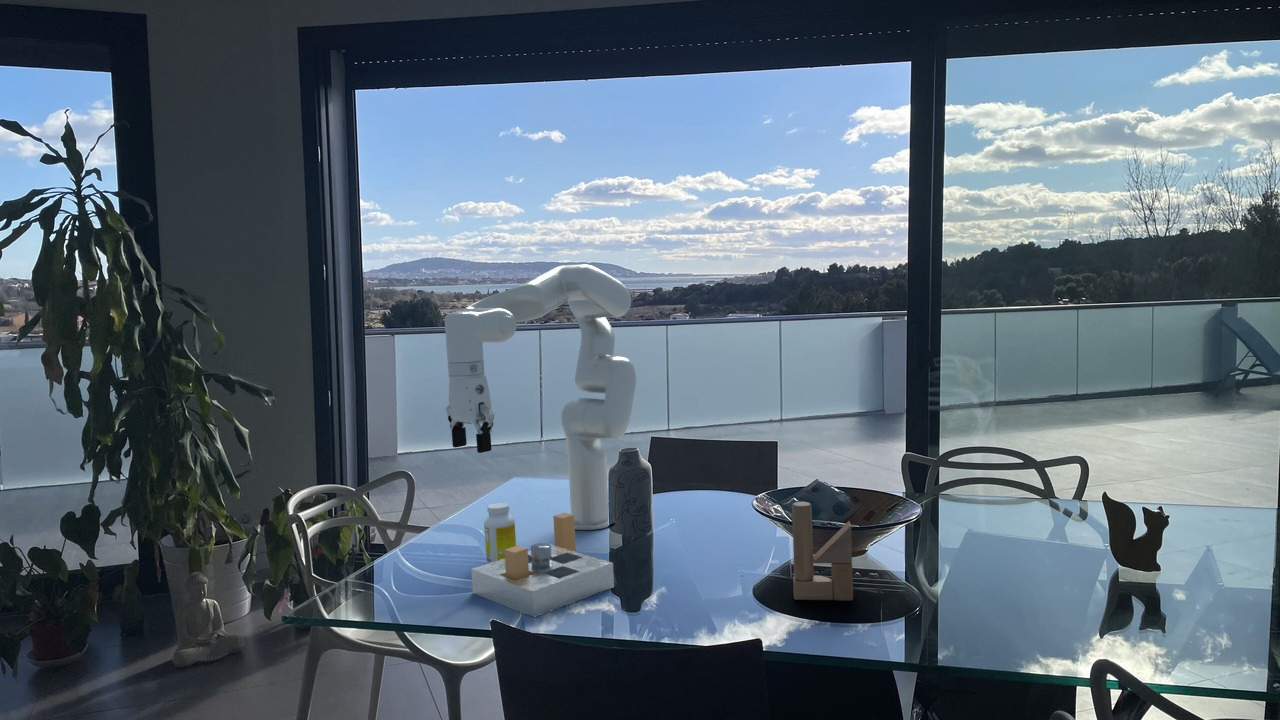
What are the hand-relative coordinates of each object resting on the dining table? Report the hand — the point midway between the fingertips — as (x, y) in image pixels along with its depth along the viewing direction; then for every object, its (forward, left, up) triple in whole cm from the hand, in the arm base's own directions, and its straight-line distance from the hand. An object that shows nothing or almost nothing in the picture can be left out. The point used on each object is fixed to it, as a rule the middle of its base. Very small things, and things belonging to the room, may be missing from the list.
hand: (471, 449), depth 192 cm
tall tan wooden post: (+6, +22, -26) cm, 35 cm away
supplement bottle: (-5, +1, -26) cm, 27 cm away
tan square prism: (-15, +11, -26) cm, 32 cm away
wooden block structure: (-31, +67, -26) cm, 78 cm away
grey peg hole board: (0, +22, -26) cm, 34 cm away
